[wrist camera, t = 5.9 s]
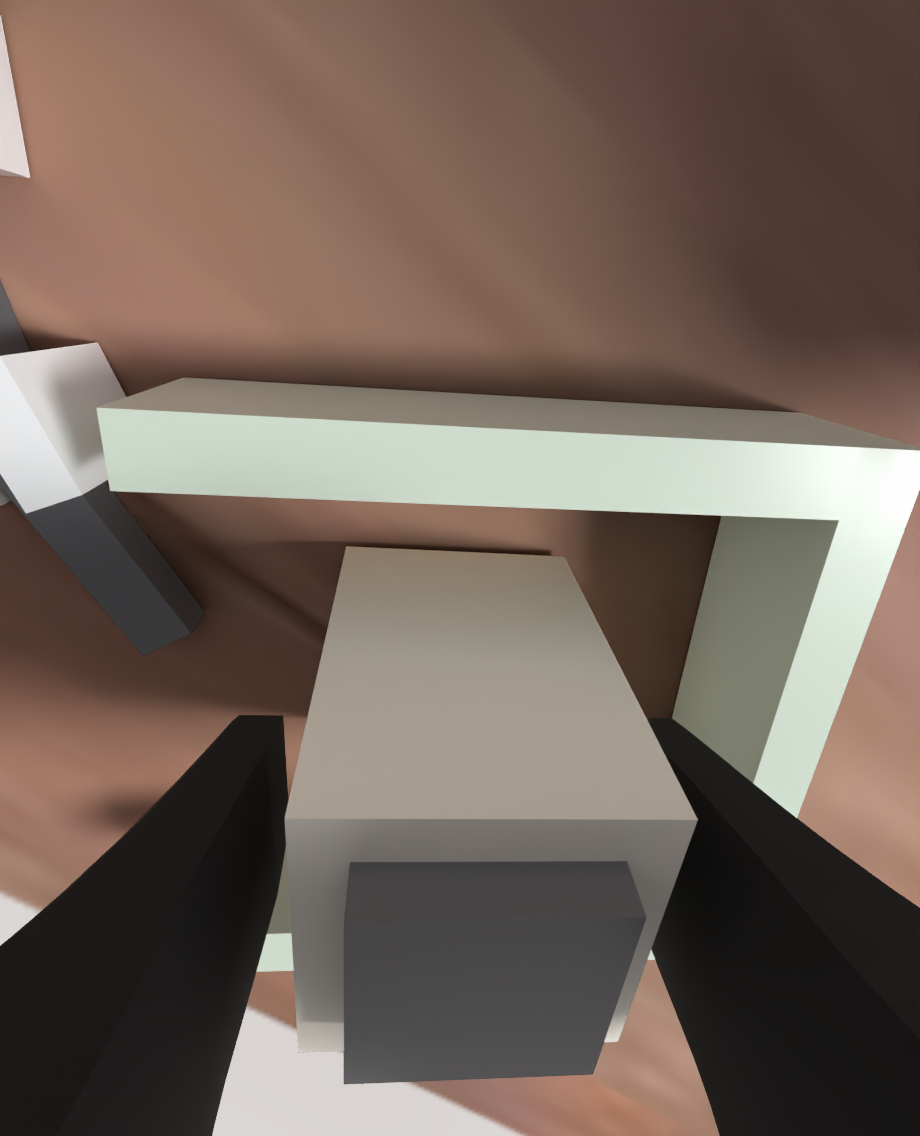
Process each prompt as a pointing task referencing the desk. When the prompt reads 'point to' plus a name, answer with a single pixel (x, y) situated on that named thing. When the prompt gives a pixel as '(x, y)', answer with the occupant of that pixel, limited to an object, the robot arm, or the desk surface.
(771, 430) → the holder
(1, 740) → the desk surface
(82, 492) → the clips
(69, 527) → the cable
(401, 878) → the block
